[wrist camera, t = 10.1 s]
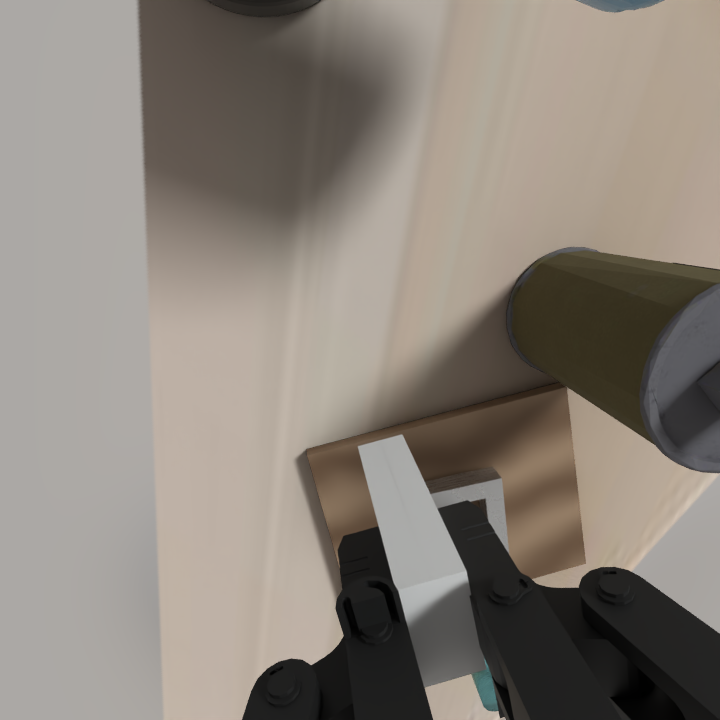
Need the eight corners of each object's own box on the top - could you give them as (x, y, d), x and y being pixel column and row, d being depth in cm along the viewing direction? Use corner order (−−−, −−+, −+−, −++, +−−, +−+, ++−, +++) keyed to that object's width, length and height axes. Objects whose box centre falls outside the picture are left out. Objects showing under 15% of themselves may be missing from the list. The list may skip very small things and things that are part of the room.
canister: (555, 397, 44) (752, 540, 25) (480, 312, 41) (640, 401, 22) (654, 308, 43) (939, 389, 24) (584, 214, 40) (847, 221, 21)
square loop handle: (400, 486, 43) (421, 542, 36) (492, 466, 44) (531, 516, 37) (426, 646, 48) (450, 722, 41) (509, 626, 49) (546, 698, 42)
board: (306, 449, 43) (309, 493, 36) (559, 382, 44) (607, 413, 37) (355, 618, 48) (365, 684, 42) (579, 555, 49) (623, 609, 43)
